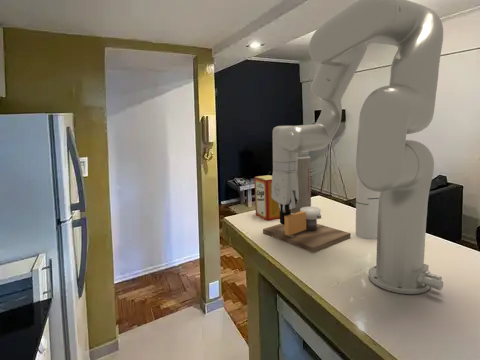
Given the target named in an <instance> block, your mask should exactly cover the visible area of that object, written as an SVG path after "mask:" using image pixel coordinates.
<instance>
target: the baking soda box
mask: <svg viewBox="0 0 480 360" xmlns="http://www.w3.org/2000/svg"><path fill="white" fill-rule="evenodd" d="M253 180H254V199H255V200H254V201H255V216H257V217H259V218H261V219H263V221H264V220H265V221H266V222H269V221H274V220H275V221H277V220H280V210H279V204H278V202H276V201H275V200H273V199H272V197H271V188H272V175H270V174H267V175H258V176H254V178H253Z"/></svg>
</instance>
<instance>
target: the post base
mask: <svg viewBox="0 0 480 360" xmlns="http://www.w3.org/2000/svg"><path fill="white" fill-rule="evenodd" d="M317 222H318V219H314V220H308V219H306V230H303V231H300V232H297V233H294V234H292V235H289V236H288V235H285V224H284V225H283V224H281V223H278V224H275V225H271V226H269V227H265V228H262V234H264V235H267V236H270V237H272V238H275V239H277V240H280V241H283V242H284V243H287V244H290V245H292V246H296V247H297V248H298V247H299V248H301V249H303V250H306V251H309V252H311V253H317V252H320V251H322V250H325V249H327V248H329V247H332V246H334V245H337V244H339V243H341V242H345V241H347V240H349V239H351V232H348V231H344V230H340V229H338V228H337V229H336V228H333V227H331V226H326V225H323V224H320V223H317Z"/></svg>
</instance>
